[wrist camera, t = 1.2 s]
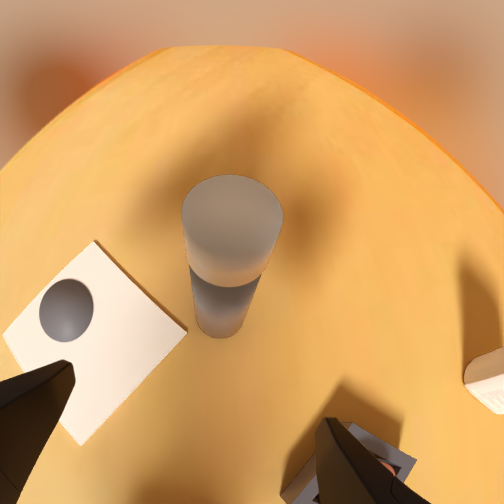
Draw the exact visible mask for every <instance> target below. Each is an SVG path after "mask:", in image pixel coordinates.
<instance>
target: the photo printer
mask: <svg viewBox="0 0 504 504" xmlns="http://www.w3.org/2000/svg"><path fill="white" fill-rule="evenodd" d="M464 383H465V387H466V388H467V390H468V391H469V392H470V393H471V394H472V395H474V396H475V397H476V398H477V399H478V400H479V401H480V402H481V403H483V404H484V405H485V406H486V407H487V408H489V409H490V410H491V411H492V412H494V413H496V414H504V347H502V348H499V349H497V350H495V351H492V352H490V353H487V354H485V355H482V356H479V357H477V358H475V359H473V360H472V362H471V363H469V364H468V366H467V368H466V370H465V373H464Z"/></svg>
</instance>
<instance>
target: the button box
mask: <svg viewBox="0 0 504 504" xmlns="http://www.w3.org/2000/svg"><path fill="white" fill-rule="evenodd" d="M341 423H342V424H343V425H344V426H345V427H346V428H347V429H348V430H349V431H350V432H351V433H352V434H353V435H354V436H355V437H356V438H357V439H358V440H359V441H360V442H361V443H362V444H363V445H364V446H365V447H366V448H367V449H368V450H369V451H370V452H371V453H372V454H373V455H374V456H375V457H376V458H377V459H378V460H379V461H381V462H385V463H387V464H389V465H390V466H391V467H392V468H393V470H394V472H395V476H396V477H397V478H398V479H400V480H401V481H402V482H403V483H404V481H405V480H406V478H407V476H408V475H409V473H410V471H411V470H412V468H413V466H414V464H415V463H416V461H417V459H415V458H413V457H411V456H409V455H407V454H405V453H404V452H402V451H400V450H398V449H396V448H395V447H393V446H391V445H389V444H388V443H386V442H384V441H382V440H381V439H379V438H377V437H375V436H374V435H372V434H370V433H369V432H367V431H365V430H364V429H362V428H361V427H359V426H357V425H356V424H354V423H352V422H341ZM318 493H319V490H318V483H317V477H316V461H315V453H314V454H313V455H312V457H311V458H310V459H309V461H308V462H307V463H306V465H305V466H304V467H303V468H302V470H301V471H300V472H299V473H298V475H297V476H296V477H295V478H294V479H293V481H292V482H291V483H290V484H289V485H288V486H287V488H286V489H285V490H284V491H283V492H282V493H281V494H280V496H281V498H282V499H283V500H284V501H285V502H286V503H287V504H320V501H319V500H317V499H315V497H316V495H317V494H318Z"/></svg>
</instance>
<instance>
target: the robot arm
mask: <svg viewBox="0 0 504 504" xmlns="http://www.w3.org/2000/svg"><path fill="white" fill-rule="evenodd" d="M75 383H76V378H75V373H74V367H73V364H72V363H71V362H69V361H66V360H64V359H62V360H59V361H56V362H53V363H51V364H48V365H45V366H43V367H40V368H37V369H34V370H32V371H29V372H26V373H23V374H21V375H18V376H15V377H12V378H9V379H7V380H4V381H1V382H0V504H16V503H17V501H18V499H19V497H20V493H21V492H22V490H23V488H24V485H25V483H26V481H27V479H28V477H29V475H30V473H31V471H32V469H33V467H34V465H35V463H36V461H37V459H38V457H39V455H40V454H41V452H42V450H43V448H44V446H45V444H46V442H47V441H48V439H49V437H50V435H51V433H52V431H53V430H54V428H55V426H56V424H57V423H58V421H59V419H60V417H61V415H62V413H63V411H64V409H65V406H66V404H67V402H68V400H69V397H70V395H71V393H72V391H73V388H74V386H75ZM315 461H316V477H317V483H318V490H319V497H320V504H431V503H429V502H428V501H427V500H425V499H424V498H422V497H421V496H419V495H418V494H417V493H415V492H414V491H413V490H411V489H410V488H409V487H408V486H406V485H405V484H404V483H403V482H402V481H401V480H400V479H398V478H397V477H396V476H394V474H393V473H392V472H391V471H390V470H389V469H388V468H387V467H385V466H384V465H383V464H382V463H381V462H380V461H379V460H378V459H377V458H376V457H375V456H374V455H373V454H372V453H371V452H370V451H369V450H368V449H367V448H366V447H365V446H364V445H363V444H362V443H361V442H360V441H359V440H358V439H357V438H356V437H355V436H354V435H353V434H352V433H351V432H350V431H349V430H348V429H347V428H346V427H345V426H344V425H343V424H342V423H341V422H340V421H339V420H338V419H337V418H335V417H324V418H323V419H322V421H321V423H320V425H319V426H318V428H317V430H316V433H315Z"/></svg>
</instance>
